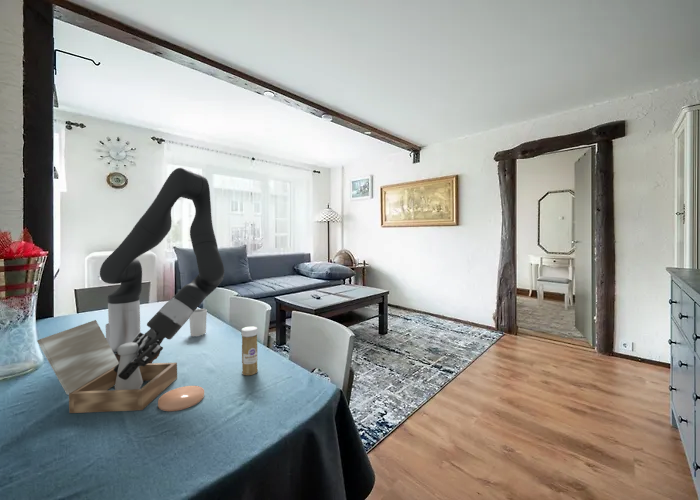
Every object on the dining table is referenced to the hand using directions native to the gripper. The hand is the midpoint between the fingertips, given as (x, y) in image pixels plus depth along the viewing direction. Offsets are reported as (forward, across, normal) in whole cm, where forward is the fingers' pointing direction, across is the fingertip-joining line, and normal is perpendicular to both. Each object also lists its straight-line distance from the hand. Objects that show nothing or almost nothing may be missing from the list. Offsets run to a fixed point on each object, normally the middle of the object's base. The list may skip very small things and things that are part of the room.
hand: (119, 374), depth 75 cm
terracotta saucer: (-3, +13, +11) cm, 17 cm away
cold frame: (+4, -2, +4) cm, 6 cm away
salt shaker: (+3, 0, +5) cm, 6 cm away
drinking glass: (-20, -36, +28) cm, 50 cm away
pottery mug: (-1, -17, +10) cm, 19 cm away
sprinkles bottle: (-16, +13, +24) cm, 32 cm away
